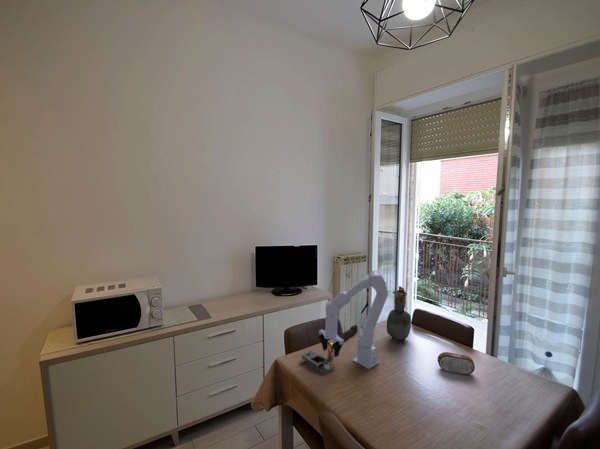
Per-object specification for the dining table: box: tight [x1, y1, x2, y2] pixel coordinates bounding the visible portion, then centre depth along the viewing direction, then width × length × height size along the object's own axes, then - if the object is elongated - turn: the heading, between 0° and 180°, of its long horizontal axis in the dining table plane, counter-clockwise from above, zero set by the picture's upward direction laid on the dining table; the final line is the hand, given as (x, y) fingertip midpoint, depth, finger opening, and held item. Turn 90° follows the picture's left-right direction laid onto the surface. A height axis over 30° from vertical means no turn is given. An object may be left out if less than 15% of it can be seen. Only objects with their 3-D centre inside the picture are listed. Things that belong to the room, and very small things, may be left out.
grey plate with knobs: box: [301, 350, 335, 376], centre depth 140 cm, size 15×7×3 cm, turn 41°
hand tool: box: [338, 324, 359, 341], centre depth 170 cm, size 19×4×5 cm, turn 136°
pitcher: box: [386, 286, 412, 344], centre depth 167 cm, size 11×19×30 cm, turn 147°
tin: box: [437, 351, 476, 376], centre depth 136 cm, size 15×3×8 cm, turn 71°
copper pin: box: [327, 341, 335, 361], centre depth 146 cm, size 3×3×8 cm
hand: (330, 352), depth 146 cm, fingers open, 7 cm apart
